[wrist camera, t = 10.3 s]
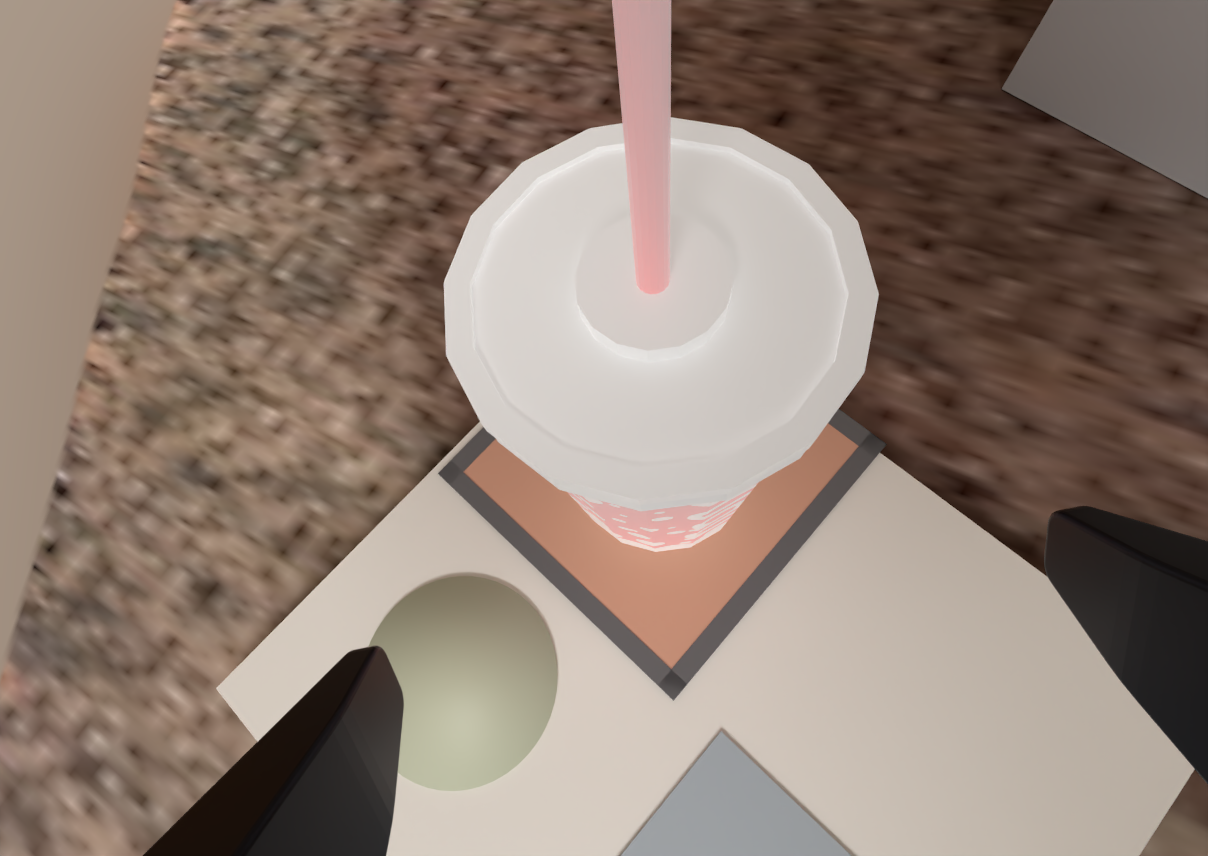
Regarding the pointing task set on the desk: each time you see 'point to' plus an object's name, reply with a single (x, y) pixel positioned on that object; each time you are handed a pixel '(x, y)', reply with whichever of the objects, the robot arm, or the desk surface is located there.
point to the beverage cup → (659, 308)
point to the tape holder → (1126, 79)
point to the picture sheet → (726, 676)
